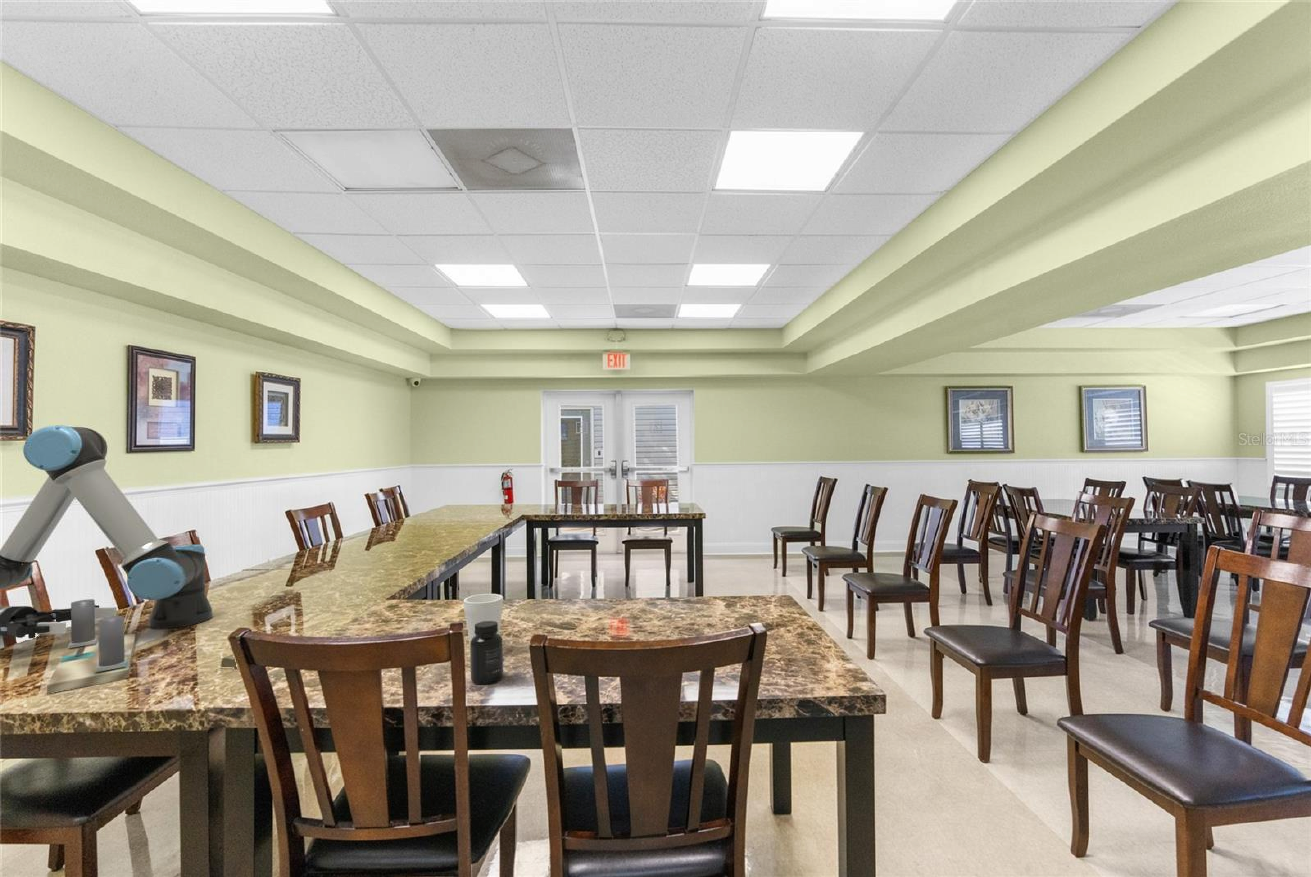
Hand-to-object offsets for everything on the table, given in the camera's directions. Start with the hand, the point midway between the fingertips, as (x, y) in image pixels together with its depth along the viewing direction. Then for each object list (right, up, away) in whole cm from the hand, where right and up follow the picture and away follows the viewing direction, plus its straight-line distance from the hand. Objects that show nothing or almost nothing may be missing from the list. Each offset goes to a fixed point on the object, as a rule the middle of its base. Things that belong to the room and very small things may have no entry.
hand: (91, 620), depth 155 cm
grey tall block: (+21, -6, -17) cm, 28 cm away
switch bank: (+10, -8, -9) cm, 15 cm away
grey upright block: (-2, -6, 0) cm, 7 cm away
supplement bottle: (+109, -6, -24) cm, 111 cm away
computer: (+48, -8, -6) cm, 49 cm away
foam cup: (+103, -6, -5) cm, 103 cm away
